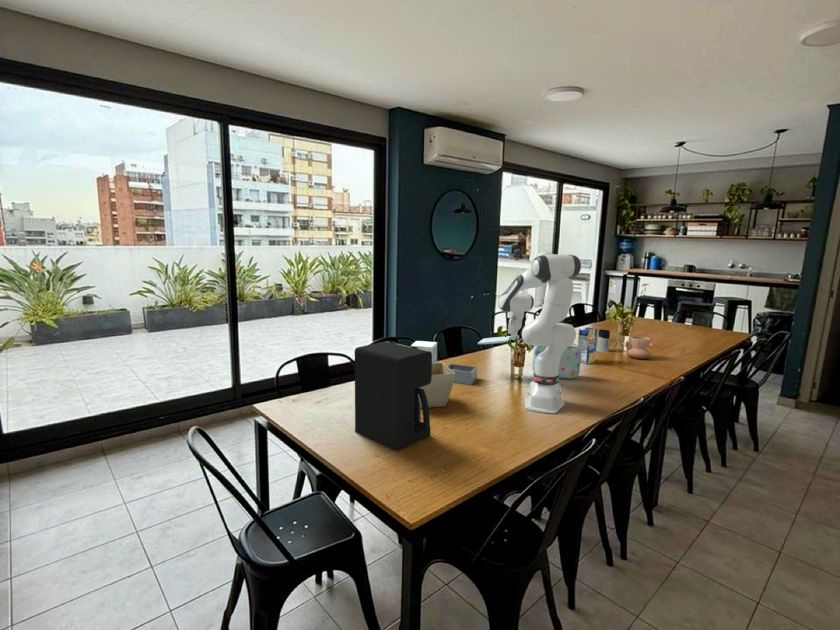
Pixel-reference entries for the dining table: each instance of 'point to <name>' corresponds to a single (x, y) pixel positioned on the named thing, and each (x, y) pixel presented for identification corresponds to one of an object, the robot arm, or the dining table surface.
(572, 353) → the lunch box
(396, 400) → the coffee maker
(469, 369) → the tub
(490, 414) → the dining table surface
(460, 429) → the dining table surface
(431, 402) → the flower pot
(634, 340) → the ceramic jug
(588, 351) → the beverage box
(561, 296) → the robot arm
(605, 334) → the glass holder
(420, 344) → the supplement box
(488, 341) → the lid
